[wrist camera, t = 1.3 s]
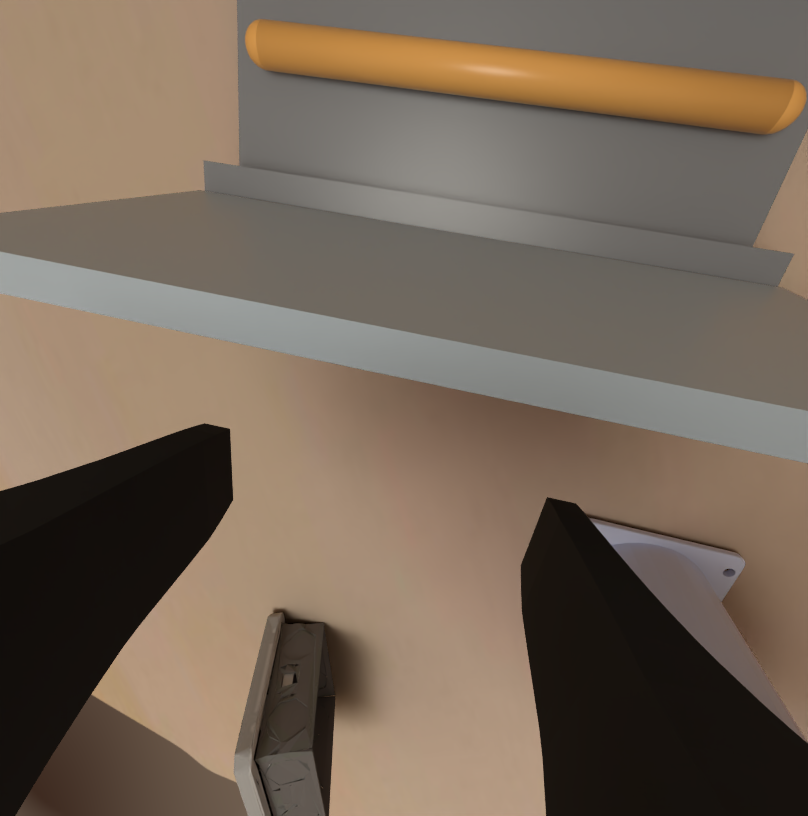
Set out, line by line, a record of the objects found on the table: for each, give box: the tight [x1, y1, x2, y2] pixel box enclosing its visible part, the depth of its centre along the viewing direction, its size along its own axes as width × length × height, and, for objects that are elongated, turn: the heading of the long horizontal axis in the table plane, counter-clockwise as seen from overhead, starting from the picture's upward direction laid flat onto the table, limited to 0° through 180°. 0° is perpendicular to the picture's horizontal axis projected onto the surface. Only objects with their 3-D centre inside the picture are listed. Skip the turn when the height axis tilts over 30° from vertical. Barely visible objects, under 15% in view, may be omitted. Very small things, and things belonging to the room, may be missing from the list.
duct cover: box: [0, 190, 808, 463], centre depth 10 cm, size 9×20×1 cm
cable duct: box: [204, 0, 808, 287], centre depth 14 cm, size 10×20×3 cm, turn 81°
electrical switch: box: [234, 612, 335, 816], centre depth 26 cm, size 9×5×9 cm, turn 2°
